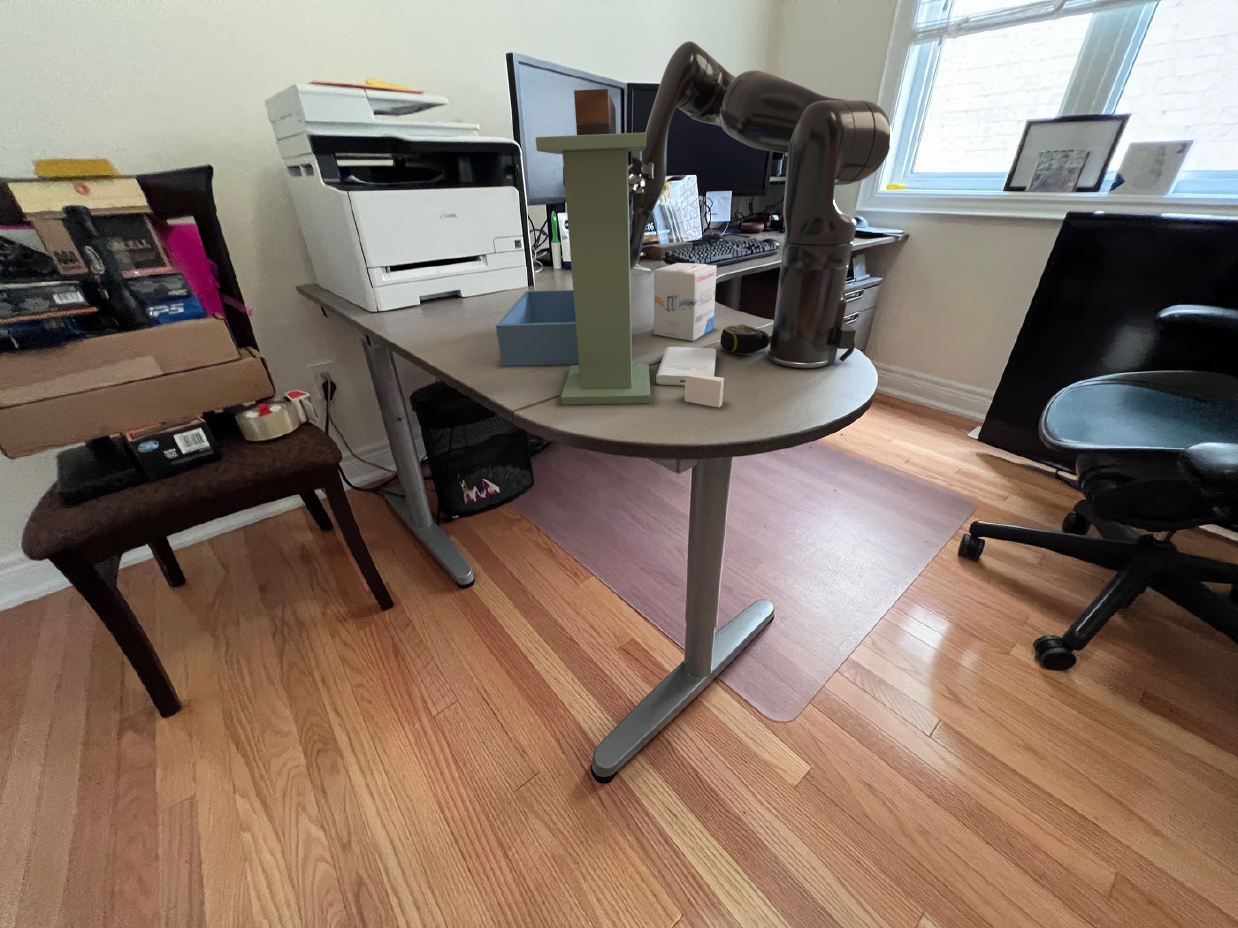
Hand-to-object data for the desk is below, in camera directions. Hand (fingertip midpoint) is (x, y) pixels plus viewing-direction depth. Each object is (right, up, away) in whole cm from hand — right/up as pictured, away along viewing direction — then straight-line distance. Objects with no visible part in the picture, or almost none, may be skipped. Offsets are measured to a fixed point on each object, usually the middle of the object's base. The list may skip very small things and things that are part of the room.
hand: (605, 154), depth 72 cm
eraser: (+13, -37, -7) cm, 40 cm away
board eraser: (0, -6, -11) cm, 13 cm away
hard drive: (+12, -31, +4) cm, 34 cm away
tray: (-10, -23, +18) cm, 31 cm away
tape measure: (+23, -26, +11) cm, 37 cm away
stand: (0, -34, -1) cm, 34 cm away
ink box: (+14, -21, +21) cm, 33 cm away
